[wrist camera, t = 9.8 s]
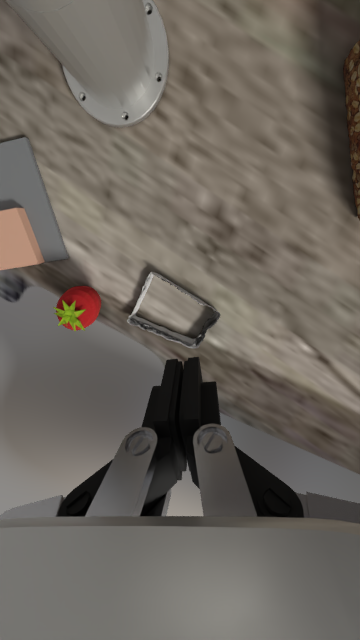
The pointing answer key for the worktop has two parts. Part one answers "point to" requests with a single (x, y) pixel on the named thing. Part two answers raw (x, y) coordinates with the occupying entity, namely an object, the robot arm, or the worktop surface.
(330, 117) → the worktop surface
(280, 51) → the worktop surface
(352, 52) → the bread
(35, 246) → the tile
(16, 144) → the mat
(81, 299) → the strawberry
